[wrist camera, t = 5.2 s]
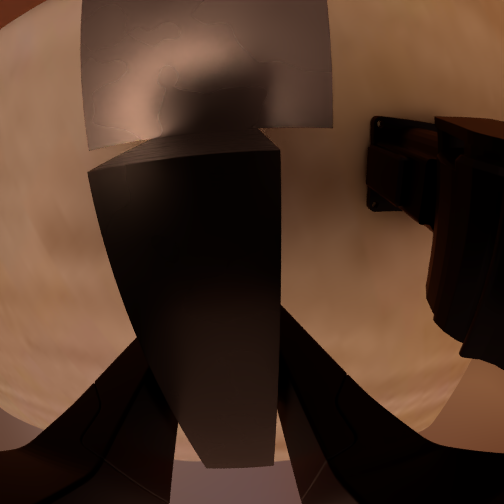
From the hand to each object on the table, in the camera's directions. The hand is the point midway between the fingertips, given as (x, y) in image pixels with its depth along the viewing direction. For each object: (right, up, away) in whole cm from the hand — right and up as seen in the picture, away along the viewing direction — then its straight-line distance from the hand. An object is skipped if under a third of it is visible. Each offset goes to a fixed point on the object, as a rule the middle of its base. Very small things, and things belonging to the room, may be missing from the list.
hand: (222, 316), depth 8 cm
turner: (0, +4, -1) cm, 4 cm away
